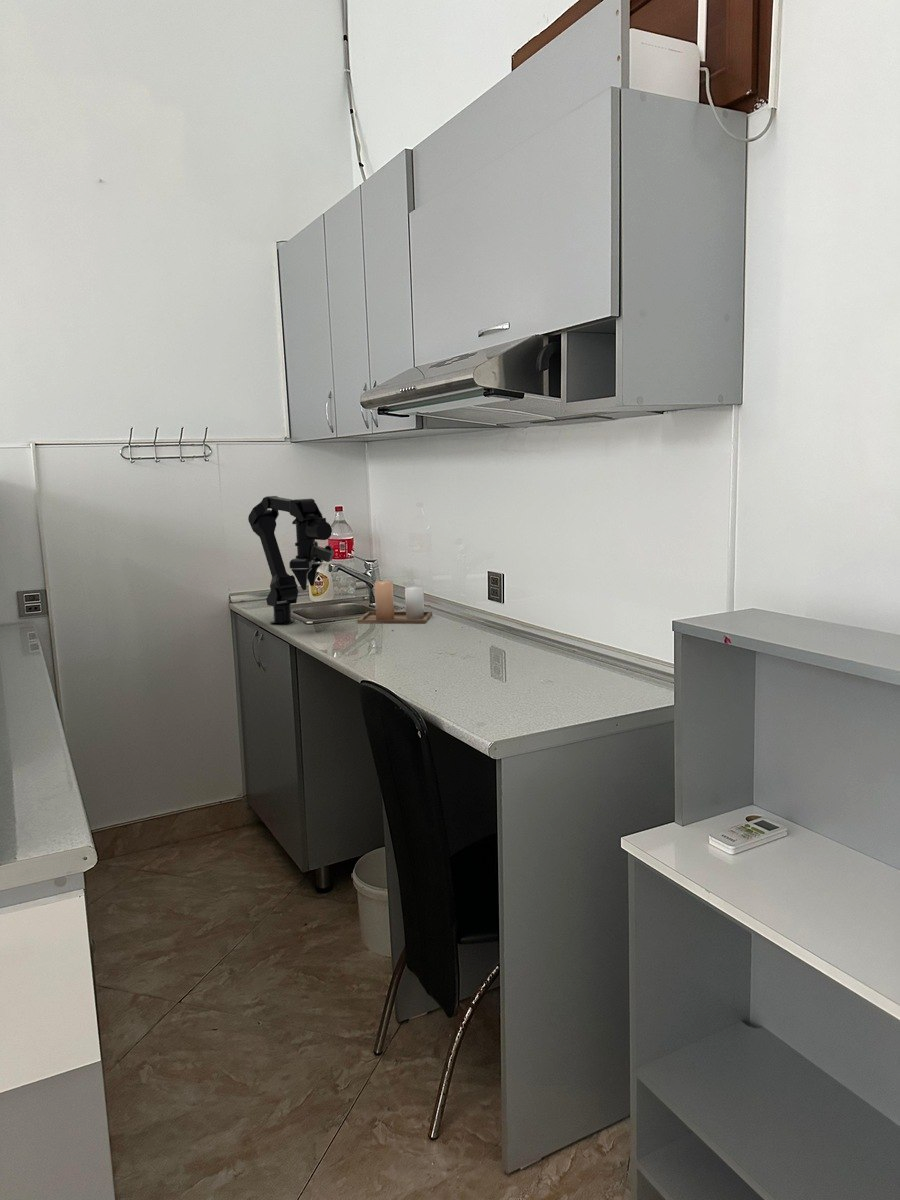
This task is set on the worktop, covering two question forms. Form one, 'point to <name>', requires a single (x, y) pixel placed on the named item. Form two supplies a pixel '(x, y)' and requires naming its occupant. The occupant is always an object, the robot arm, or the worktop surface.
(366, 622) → the walnut tray
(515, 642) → the worktop surface
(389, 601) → the peach tapered cylinder
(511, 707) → the worktop surface
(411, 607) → the white rounded cylinder
